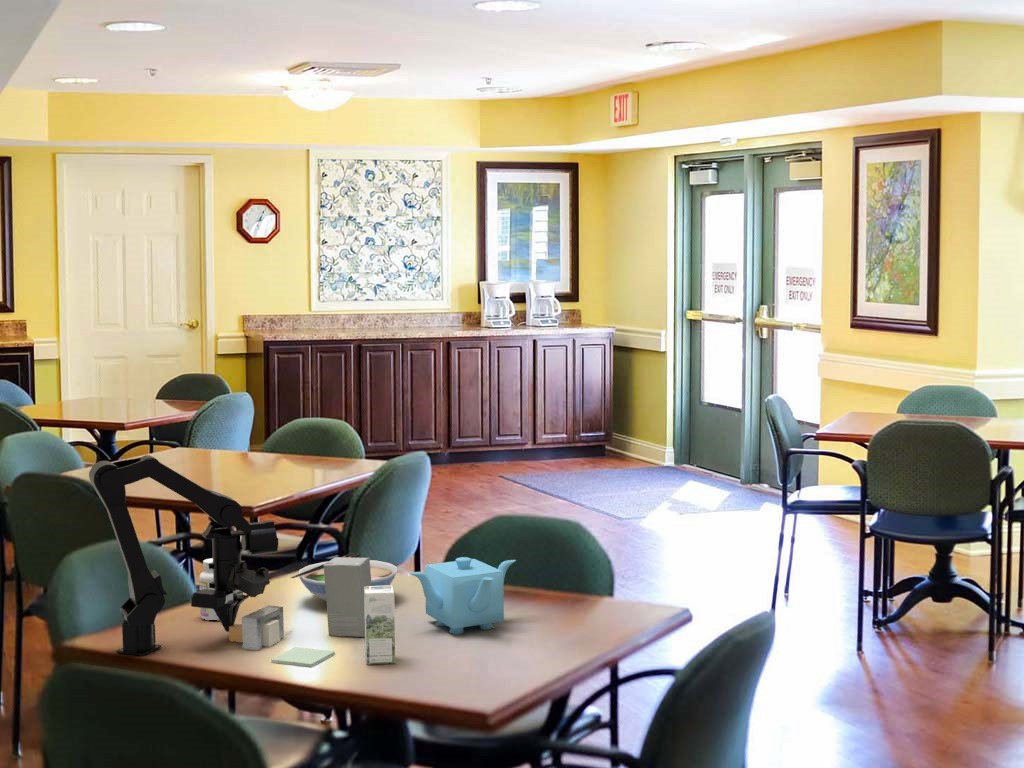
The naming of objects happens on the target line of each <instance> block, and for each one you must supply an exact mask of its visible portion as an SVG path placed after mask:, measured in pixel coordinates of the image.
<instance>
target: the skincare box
mask: <svg viewBox="0 0 1024 768" xmlns="http://www.w3.org/2000/svg"><path fill="white" fill-rule="evenodd" d="M370 560H371V559H370V557H357V558H343V556H340V557H339V556H335V557H333V558H332V559H330V560H329V562H328V561H326V562H327V563H326V564H324V576H325V590H326V600H325V601H326V614H327V629H328V636H329V635H330V636H331V637H332V636H333V637H357V638H358V637H359V638H361V637H362V638H365V614H364V587H365V586H372V585H371V572H370Z"/></svg>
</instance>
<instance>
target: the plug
mask: <svg viewBox="0 0 1024 768" xmlns="http://www.w3.org/2000/svg"><path fill="white" fill-rule="evenodd" d="M228 633H229V635H228V637H229V638H228V639H229V642H233V641H236V643H242V642H243V638H242V623H241V624H239V623H234V625H232V626H230V627H229V632H228ZM279 641H281V639H280V631H279V620H274V619H268V620H266V621H264V622H262V623H261V643H262V647H267V648H269V647H271V645H272V646H274V645H275V643H276V644H278V643H280V642H279ZM277 642H278V643H277ZM273 644H274V645H273Z"/></svg>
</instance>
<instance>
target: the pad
mask: <svg viewBox="0 0 1024 768" xmlns="http://www.w3.org/2000/svg"><path fill="white" fill-rule="evenodd" d="M330 656H331V657H332V656H335V651H333V650H325V649H324V650H323V649H315V648H308V647H299V646H294V647H293V648H291V649H288V650H286V651H284V652H283V653H280V654H279V655H277V656H275V657H273V658H272V659H271V663H274V664H275V663H276V664H283V665H288V666H289V665H291V666H299V667H306V666H307V667H308V668H312V666H313V667H315V666H316V665H318V664H320V663H321V661H322V662H324V661H325V660H327V659H329V658H330ZM323 660H324V661H323ZM317 663H318V664H317Z"/></svg>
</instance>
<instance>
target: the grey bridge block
mask: <svg viewBox="0 0 1024 768" xmlns="http://www.w3.org/2000/svg"><path fill="white" fill-rule="evenodd" d="M268 619H274V620H279V631H280V640H281V638H282V639H284V638H285V631H284V630H285V629H284V628H285V627H284V606H278V605H270V604H269V605H267V606H264V607H262V608H260V609H257V610H254V611H252V612H250V613H249V614H246V615H244V616H242V617H241V624H242V638H243V643H242V649H243V650H250V651H251V650H252V651H259V650H262V649H261V648H262V647H263V646H262V643H261V623H262V622H264V621H266V620H268ZM283 637H284V638H283Z"/></svg>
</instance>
